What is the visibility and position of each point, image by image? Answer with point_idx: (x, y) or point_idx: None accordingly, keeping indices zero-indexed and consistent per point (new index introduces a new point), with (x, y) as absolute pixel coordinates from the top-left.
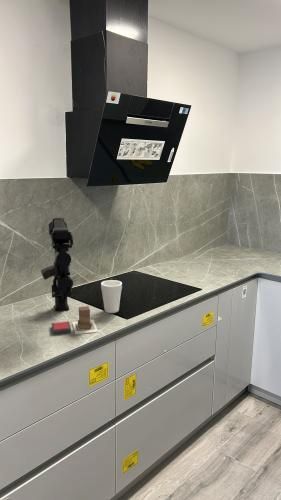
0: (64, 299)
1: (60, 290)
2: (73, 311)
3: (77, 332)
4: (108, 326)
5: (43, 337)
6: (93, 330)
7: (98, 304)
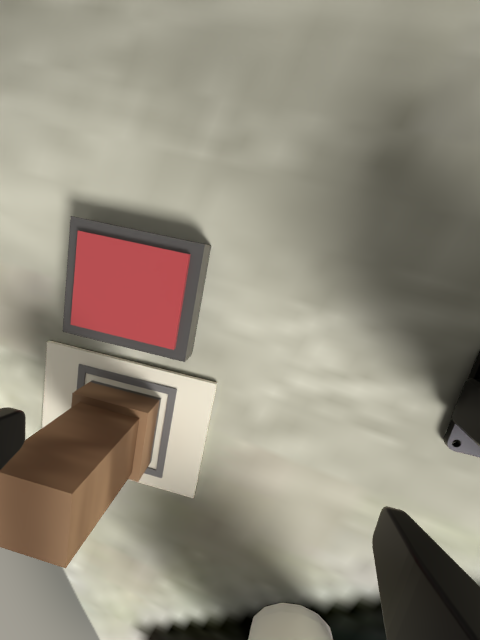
0: (5, 425)
1: (399, 533)
2: (399, 457)
3: (59, 357)
4: None
5: (71, 150)
6: None
7: None
